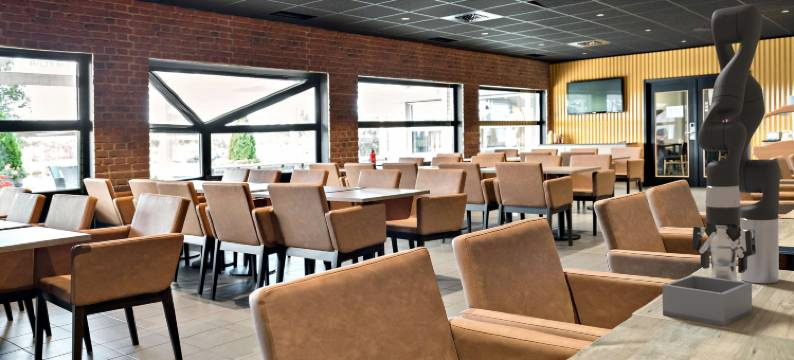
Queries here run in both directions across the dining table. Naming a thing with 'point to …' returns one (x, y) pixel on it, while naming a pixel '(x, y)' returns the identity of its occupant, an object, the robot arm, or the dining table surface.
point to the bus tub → (707, 299)
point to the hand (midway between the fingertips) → (723, 270)
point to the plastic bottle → (723, 256)
